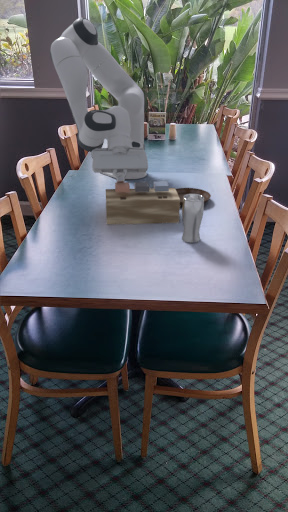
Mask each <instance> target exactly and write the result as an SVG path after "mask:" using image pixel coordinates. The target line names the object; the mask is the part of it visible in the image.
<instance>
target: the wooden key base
mask: <svg viewBox="0 0 288 512" xmlns="http://www.w3.org/2000/svg"><path fill="white" fill-rule="evenodd" d="M176 189H177V188H175V187H169V191H154V187H153V188H151V187H149V192H135V188H130V192H119V193H116V191H115V188H106V189H105V213H106V216H105V218H106V219H105V220H106V226H107V225H134V224H135V225H143V224H150V225H151V224H179V222H180V207H181V206H180V198H179V196H178V194H177V191H176Z"/></svg>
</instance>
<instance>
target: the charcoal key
mask: <svg viewBox="0 0 288 512" xmlns="http://www.w3.org/2000/svg"><path fill="white" fill-rule="evenodd" d="M133 185H134V188H133V189H135V192H149V188H150V184H149V181H134V184H133Z"/></svg>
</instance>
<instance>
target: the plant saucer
mask: <svg viewBox="0 0 288 512" xmlns="http://www.w3.org/2000/svg"><path fill="white" fill-rule="evenodd" d="M175 189H176V191H177V194H178V196H179V198H180V207H182V205H183V198H184V195H187V194H199V195H202V196H203V197H204V205H205V204H206V203H207V202H208V201H209V200H210V199H211V196H212V195H211V193H210V192H209V191H206V190H204V189H201V188H194V187H179V188H175Z"/></svg>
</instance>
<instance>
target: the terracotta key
mask: <svg viewBox="0 0 288 512" xmlns="http://www.w3.org/2000/svg"><path fill="white" fill-rule="evenodd" d="M114 187H115V188H114V189H115V191H116V193H119V192H130V189H131V188H130V187H131V186H130V182H126V181H125V183H117V182H114Z"/></svg>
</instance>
